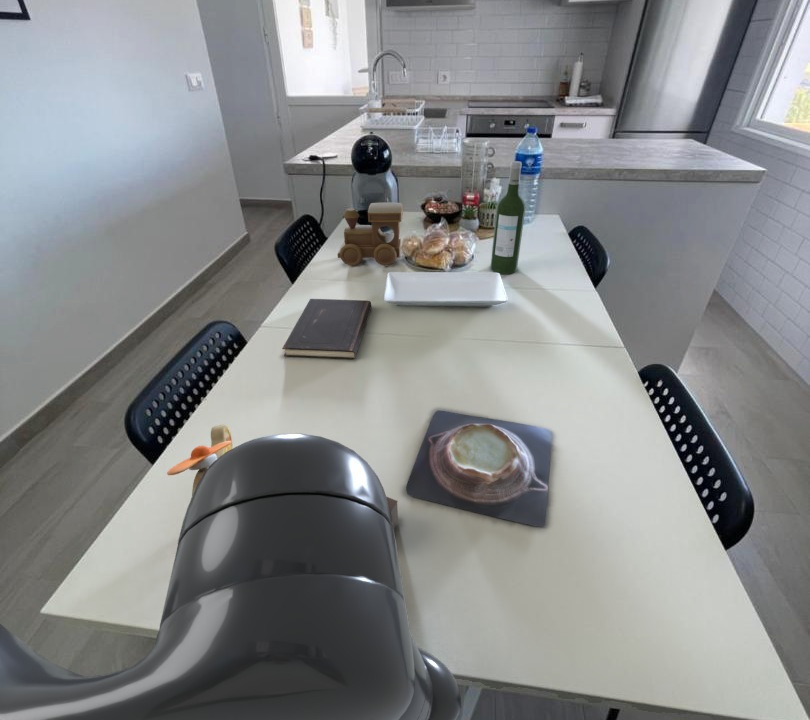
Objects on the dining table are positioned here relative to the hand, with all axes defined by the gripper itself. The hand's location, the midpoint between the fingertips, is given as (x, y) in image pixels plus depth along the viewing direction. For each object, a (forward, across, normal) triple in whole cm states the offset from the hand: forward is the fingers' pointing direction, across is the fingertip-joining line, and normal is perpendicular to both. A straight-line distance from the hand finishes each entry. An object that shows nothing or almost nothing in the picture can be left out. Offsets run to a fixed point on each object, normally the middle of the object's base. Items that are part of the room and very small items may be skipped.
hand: (229, 492), depth 60 cm
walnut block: (-14, -13, +7) cm, 20 cm away
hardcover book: (+34, -41, +8) cm, 53 cm away
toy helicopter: (+4, 0, +7) cm, 8 cm away
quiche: (-17, -34, +7) cm, 39 cm away
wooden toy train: (+60, -75, +8) cm, 96 cm away
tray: (+26, -72, +8) cm, 78 cm away
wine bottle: (+26, -98, +8) cm, 102 cm away
